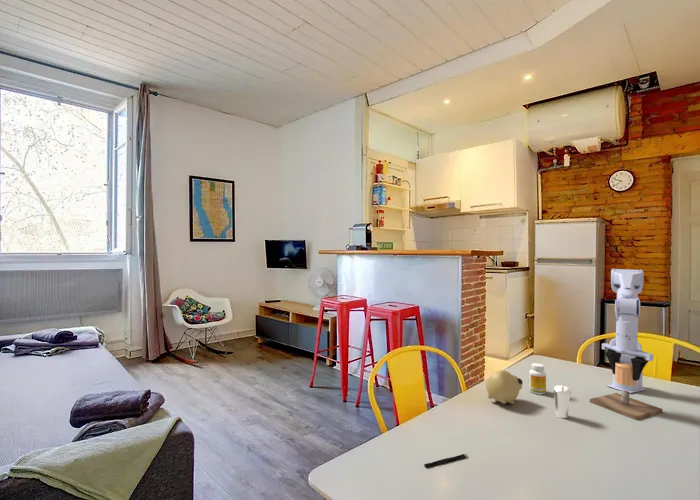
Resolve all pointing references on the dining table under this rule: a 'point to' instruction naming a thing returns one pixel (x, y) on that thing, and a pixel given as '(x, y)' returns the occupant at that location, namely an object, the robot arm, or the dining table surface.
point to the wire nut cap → (624, 373)
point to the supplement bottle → (537, 379)
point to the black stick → (445, 460)
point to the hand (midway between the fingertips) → (625, 376)
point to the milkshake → (562, 400)
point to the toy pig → (503, 386)
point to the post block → (626, 405)
